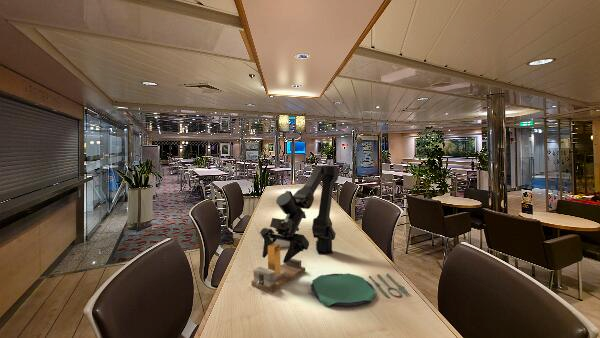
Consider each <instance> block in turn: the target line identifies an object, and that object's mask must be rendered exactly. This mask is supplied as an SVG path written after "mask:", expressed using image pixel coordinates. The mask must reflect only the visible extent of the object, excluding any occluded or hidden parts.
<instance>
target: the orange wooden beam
mask: <svg viewBox="0 0 600 338" xmlns="http://www.w3.org/2000/svg"><path fill="white" fill-rule="evenodd" d="M280 265H281V247H280V245H278V244H271V245H269V246H268V254H267V269H270V270H273V271H275V279H276V281H277V280H278V279H280V278H282V277H283V276H285V271H281V270H280ZM263 282H264V279H263V280H261V281H259V282H257V283H256V285H257V286H258V285H260V284H262V283H263Z"/></svg>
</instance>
